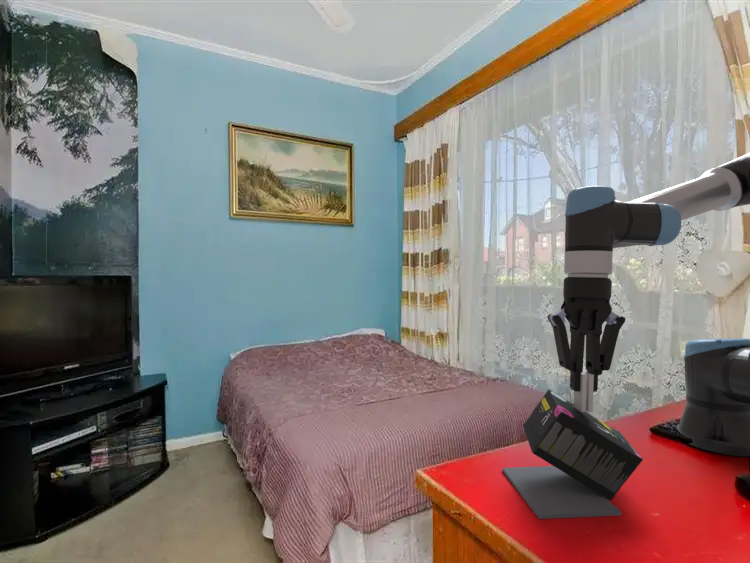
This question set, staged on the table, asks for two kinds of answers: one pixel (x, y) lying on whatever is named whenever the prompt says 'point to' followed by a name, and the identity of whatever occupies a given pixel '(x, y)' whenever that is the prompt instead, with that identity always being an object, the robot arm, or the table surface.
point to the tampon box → (580, 445)
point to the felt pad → (557, 493)
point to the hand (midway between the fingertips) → (582, 409)
